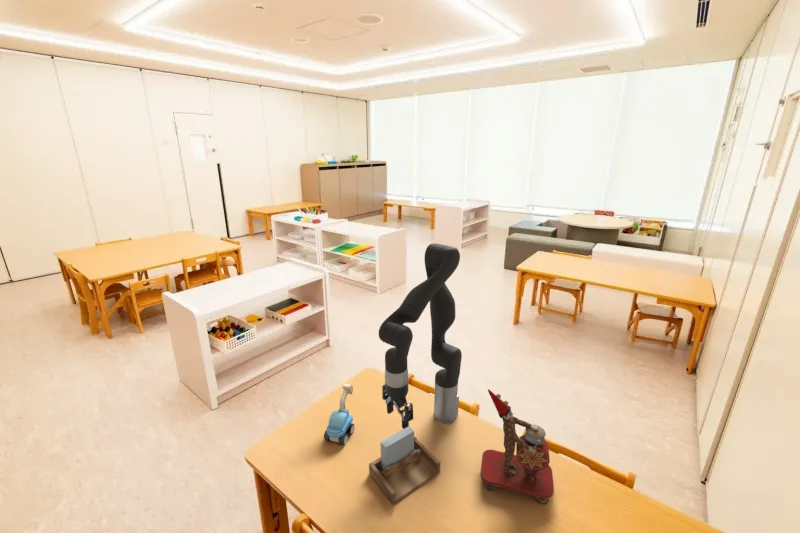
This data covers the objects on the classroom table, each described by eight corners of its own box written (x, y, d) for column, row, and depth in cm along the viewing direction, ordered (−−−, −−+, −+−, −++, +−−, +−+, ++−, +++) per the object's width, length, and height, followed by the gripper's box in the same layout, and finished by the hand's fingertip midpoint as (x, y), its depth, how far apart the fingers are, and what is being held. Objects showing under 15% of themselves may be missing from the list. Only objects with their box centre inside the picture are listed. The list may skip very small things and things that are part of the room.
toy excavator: (362, 418, 149) (360, 384, 143) (343, 449, 134) (340, 412, 129) (343, 413, 152) (341, 379, 146) (323, 443, 137) (319, 407, 131)
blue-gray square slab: (408, 452, 132) (408, 425, 128) (413, 457, 129) (414, 431, 125) (381, 468, 125) (380, 441, 121) (386, 475, 123) (385, 447, 119)
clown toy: (552, 509, 112) (569, 419, 100) (478, 490, 118) (486, 403, 107) (549, 474, 124) (564, 389, 112) (481, 458, 130) (489, 376, 119)
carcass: (414, 446, 135) (414, 435, 134) (439, 472, 125) (440, 461, 123) (369, 473, 124) (368, 462, 123) (392, 505, 114) (392, 493, 112)
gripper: (419, 386, 112) (419, 427, 117) (393, 364, 123) (394, 403, 128) (400, 396, 108) (401, 438, 113) (374, 372, 119) (376, 412, 124)
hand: (397, 419), depth 121 cm, fingers open, 8 cm apart
